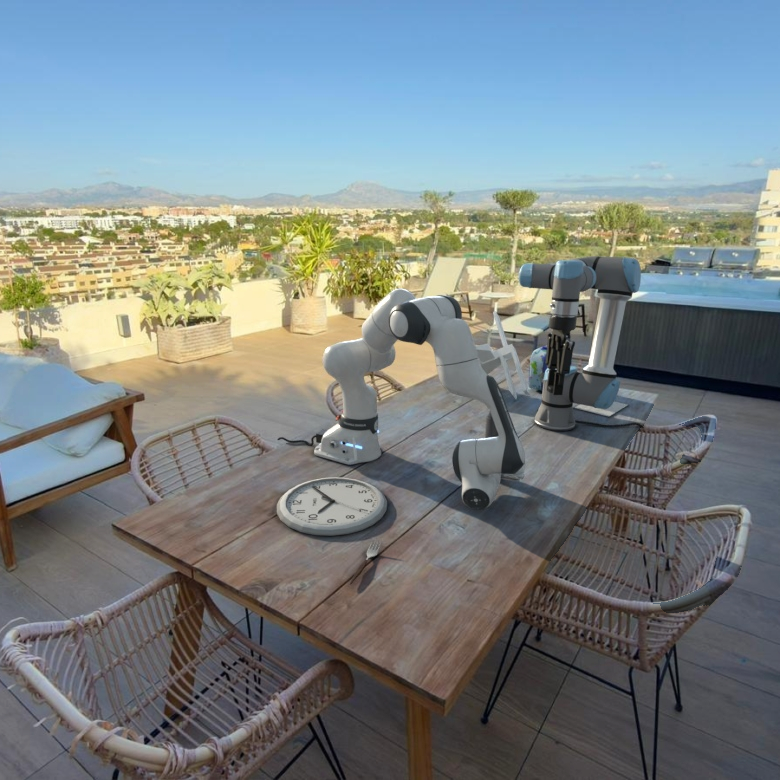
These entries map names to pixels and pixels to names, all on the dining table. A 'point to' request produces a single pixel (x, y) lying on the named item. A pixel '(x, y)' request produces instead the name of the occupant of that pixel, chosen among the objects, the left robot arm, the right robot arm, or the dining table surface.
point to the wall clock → (331, 506)
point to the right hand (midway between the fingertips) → (554, 392)
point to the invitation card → (606, 412)
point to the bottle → (490, 427)
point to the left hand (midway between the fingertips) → (493, 455)
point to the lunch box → (538, 368)
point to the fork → (370, 554)
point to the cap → (550, 388)
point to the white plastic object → (501, 359)
